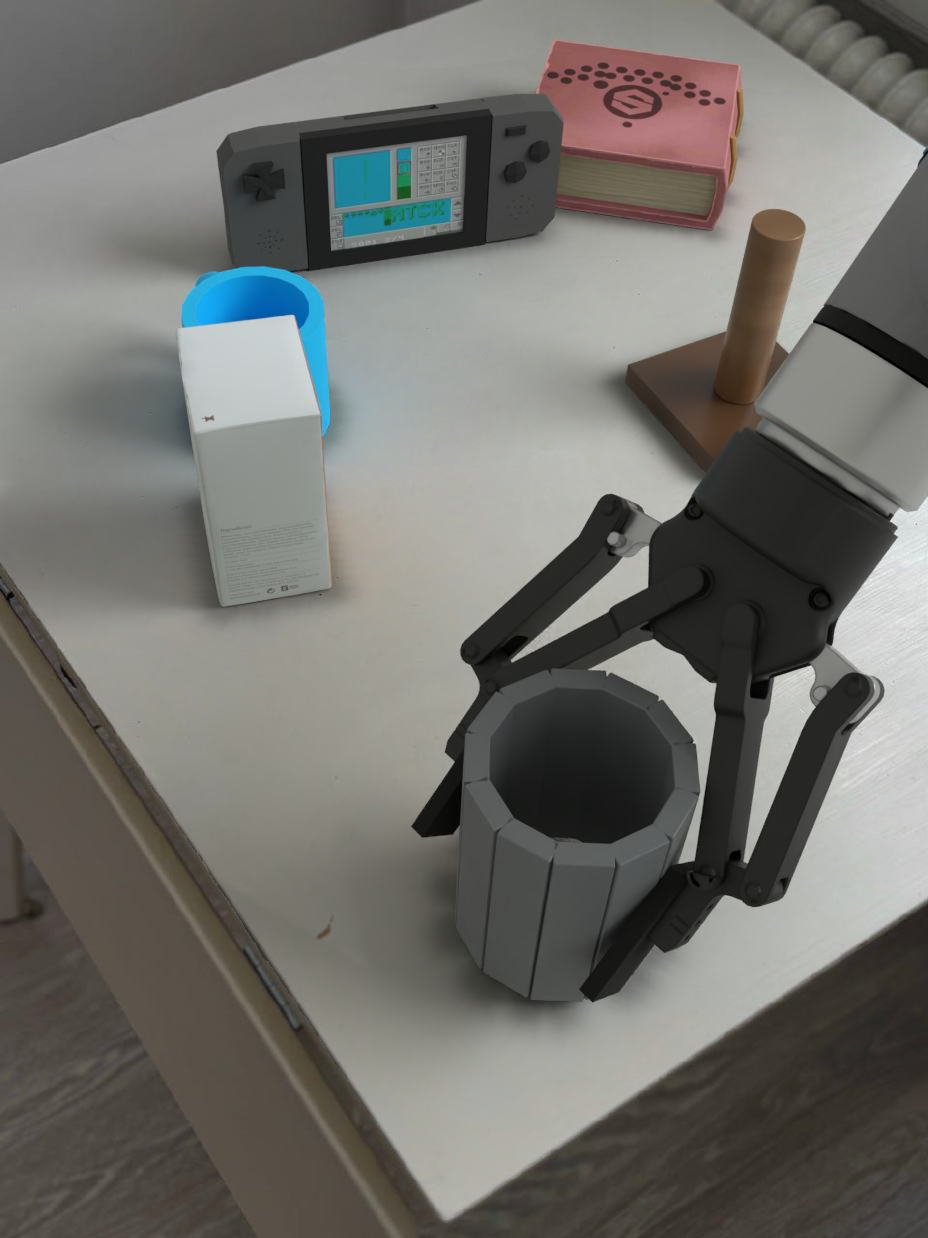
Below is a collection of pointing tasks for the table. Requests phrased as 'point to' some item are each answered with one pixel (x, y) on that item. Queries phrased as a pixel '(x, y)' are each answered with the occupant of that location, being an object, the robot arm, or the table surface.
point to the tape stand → (727, 349)
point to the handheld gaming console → (390, 182)
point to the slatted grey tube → (566, 823)
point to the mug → (265, 311)
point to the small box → (257, 457)
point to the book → (644, 132)
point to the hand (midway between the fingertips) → (512, 907)
